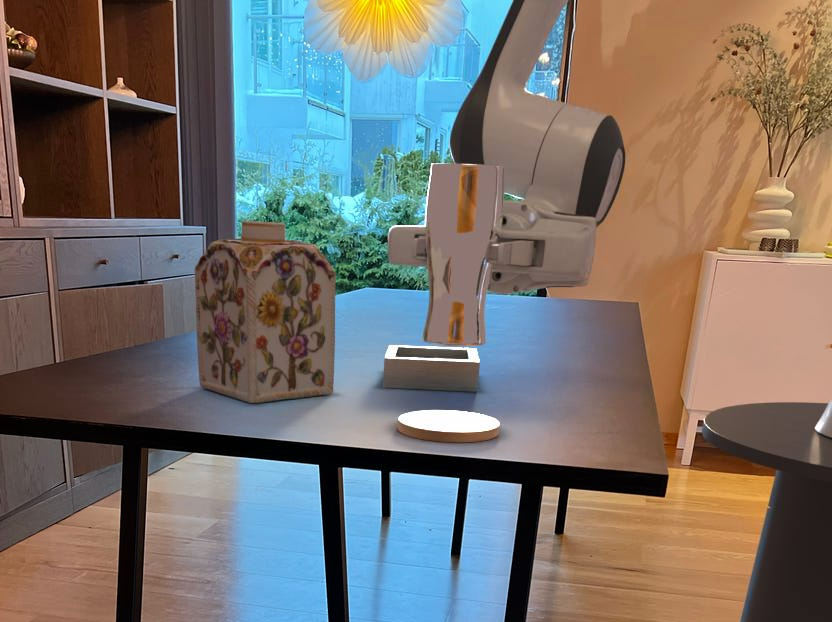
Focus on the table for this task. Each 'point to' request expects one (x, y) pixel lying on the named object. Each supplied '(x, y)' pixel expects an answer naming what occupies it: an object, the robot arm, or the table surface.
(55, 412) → the table surface
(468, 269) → the beer glass
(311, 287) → the decorative jar
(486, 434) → the disc
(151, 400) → the table surface
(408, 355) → the box
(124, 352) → the table surface
